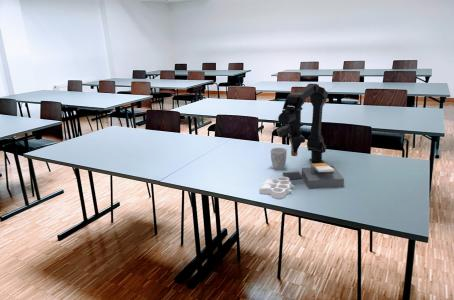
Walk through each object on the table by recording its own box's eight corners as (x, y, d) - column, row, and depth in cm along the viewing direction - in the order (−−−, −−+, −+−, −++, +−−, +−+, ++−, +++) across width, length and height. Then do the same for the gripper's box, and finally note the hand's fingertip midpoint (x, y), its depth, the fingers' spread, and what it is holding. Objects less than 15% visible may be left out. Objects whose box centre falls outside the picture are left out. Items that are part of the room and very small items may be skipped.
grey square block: (301, 175, 174) (301, 160, 172) (333, 173, 174) (334, 158, 171) (308, 188, 159) (309, 172, 156) (343, 186, 159) (344, 171, 156)
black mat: (282, 173, 177) (282, 172, 177) (298, 172, 177) (298, 171, 177) (285, 180, 169) (285, 178, 169) (301, 179, 169) (301, 178, 169)
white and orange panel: (311, 166, 172) (311, 163, 172) (325, 165, 172) (325, 163, 171) (318, 172, 157) (318, 169, 157) (334, 171, 157) (334, 168, 157)
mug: (277, 162, 193) (277, 145, 190) (291, 164, 188) (291, 147, 185) (268, 168, 184) (267, 151, 181) (282, 171, 180) (282, 153, 177)
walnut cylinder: (290, 154, 171) (290, 136, 168) (296, 153, 171) (297, 136, 168) (291, 156, 168) (292, 138, 165) (298, 155, 168) (298, 138, 165)
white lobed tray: (266, 181, 170) (296, 183, 166) (257, 197, 154) (290, 200, 149) (266, 175, 169) (296, 177, 165) (257, 190, 153) (290, 193, 148)
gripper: (274, 117, 173) (274, 146, 177) (281, 126, 155) (281, 158, 160) (296, 116, 173) (296, 145, 178) (305, 125, 155) (305, 157, 160)
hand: (294, 151), depth 169 cm, fingers closed on walnut cylinder, 3 cm apart
